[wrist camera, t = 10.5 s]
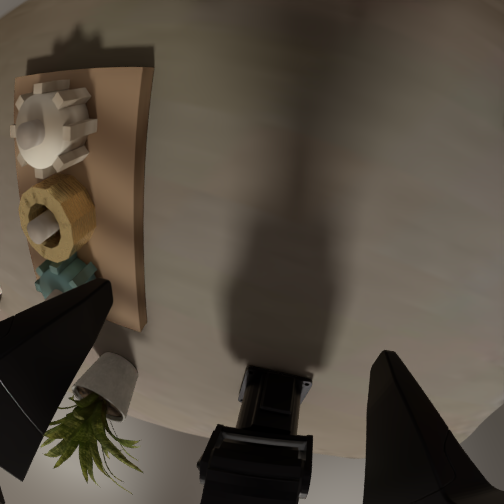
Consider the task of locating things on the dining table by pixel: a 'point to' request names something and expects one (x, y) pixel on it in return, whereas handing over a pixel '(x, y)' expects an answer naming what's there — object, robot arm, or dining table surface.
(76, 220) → the hollow tan sleeve
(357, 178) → the dining table surface
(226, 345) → the dining table surface
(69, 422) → the house plant
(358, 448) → the dining table surface
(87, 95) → the gear board
